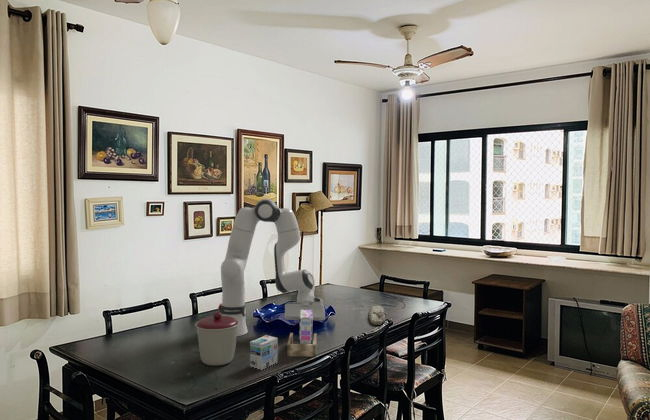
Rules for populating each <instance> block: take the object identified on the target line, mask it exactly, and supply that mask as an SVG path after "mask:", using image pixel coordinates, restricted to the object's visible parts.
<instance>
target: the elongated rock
mask: <svg viewBox="0 0 650 420" xmlns="http://www.w3.org/2000/svg"><path fill="white" fill-rule="evenodd" d="M368 319H369V321H370V323H371V325H373V326H380V325H381V324H382V323H383V322H385V323H386V321H387V312H386V311H385V309H384V307H383V306H382V305H373V306H371V307H370V308H369V311H368ZM383 324H384V323H383ZM383 324H382V325H383ZM382 325H381V326H382Z"/></svg>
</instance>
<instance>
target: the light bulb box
mask: <svg viewBox="0 0 650 420" xmlns="http://www.w3.org/2000/svg"><path fill="white" fill-rule="evenodd" d="M278 341H279V339H278V337H275V336H271V335H267V334H265V335H263V336H261V337H259V338H256V339H254V340H250V341H249V367H250V366H251V367H250V368H252V367H254V368H253V369H255V368H257V369H256V370H259V369H260V371H263V369H264V370H266V369H268V368H270V367H272V366H273V364H274V365H276V364H278V349H279V348H278V346H279V344H278V343H279V342H278ZM275 363H276V364H275ZM271 365H272V366H271ZM269 366H270V367H269ZM267 367H268V368H267ZM265 368H266V369H265Z"/></svg>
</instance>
